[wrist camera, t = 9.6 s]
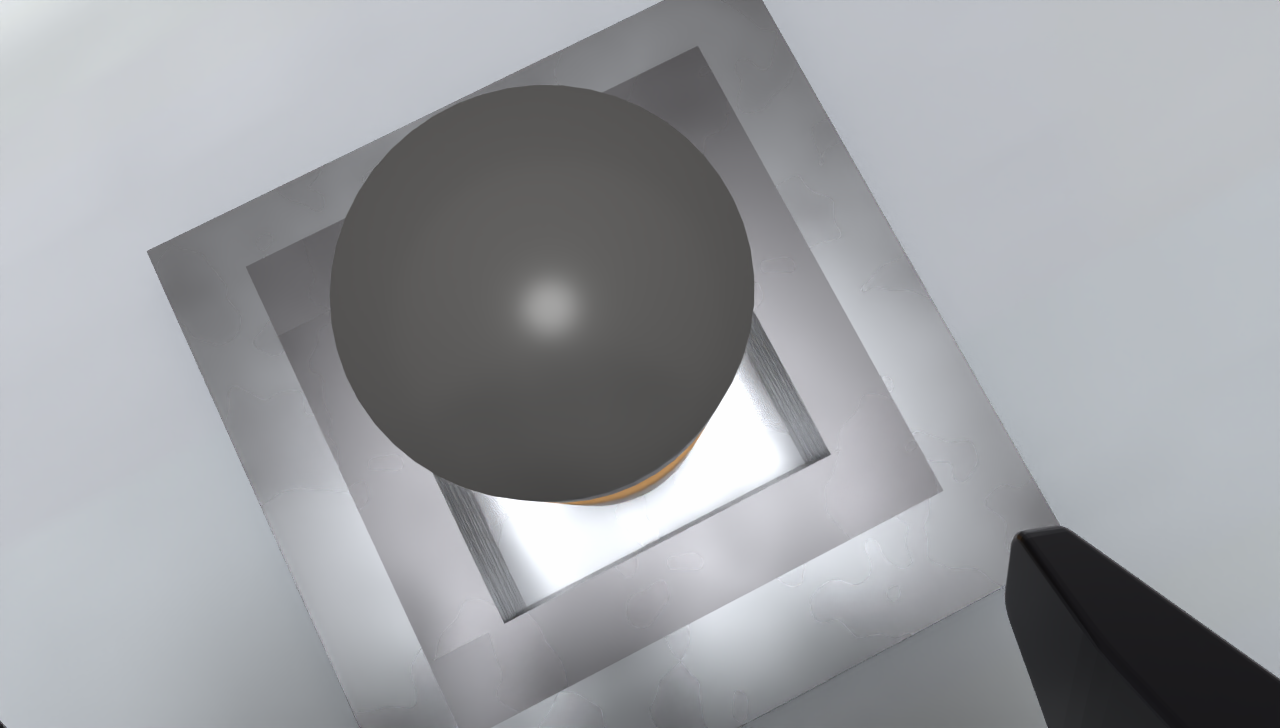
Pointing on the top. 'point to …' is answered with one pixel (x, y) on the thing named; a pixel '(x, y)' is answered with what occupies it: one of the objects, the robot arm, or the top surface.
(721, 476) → the grey square socket
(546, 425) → the grey-capped orange cylinder
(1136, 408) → the top surface
